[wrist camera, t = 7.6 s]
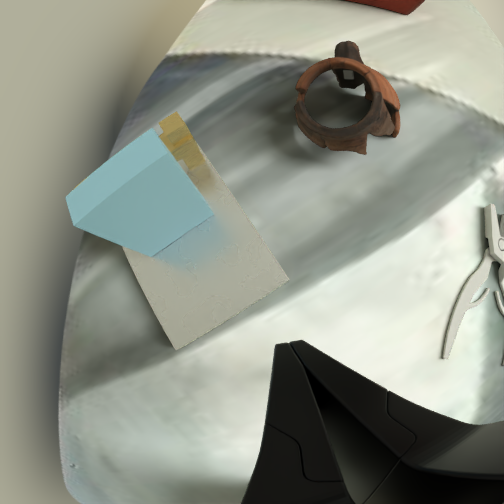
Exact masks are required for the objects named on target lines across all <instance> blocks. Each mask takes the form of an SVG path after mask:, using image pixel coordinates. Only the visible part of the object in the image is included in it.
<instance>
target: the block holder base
mask: <svg viewBox="0 0 504 504" xmlns="http://www.w3.org/2000/svg"><path fill="white" fill-rule="evenodd" d="M159 125H160V127H161V128H162V130H163V131H164V133H162V134H161V135H159V137H160V139H161V140H162V141H163V143H164V144H165V146H166V147H167V148H168V150H169V151H170V152H171V154H172V155H173V156H174V158H175V159H176V161H177V162H178V163H179V165H180V166H181V167H182V169H183V170H184V171H185V173H186V174H187V175H188V177H189V178H190V180H191V181H192V182H193V184H194V185H195V186H196V188H197V189H198V190H199V192H200V193H201V194H202V196H203V197H204V199H205V201H206V202H207V204H208V205H209V207H210V209H211V210H212V212H213V213H214V215H212V216H211V217H209V218H208V219H206V220H205V221H203V222H202V223H200V224H199V225H197V226H196V227H194V228H193V229H191V230H190V231H188V232H187V233H185V234H184V235H183V236H181V237H180V238H178V239H177V240H175V241H174V242H172V243H171V244H169V245H168V246H167V247H165V248H164V249H162V250H161V251H159V252H158V253H157V254H155V255H154V256H152V257H149V256H147V255H144V254H142V253H139V252H137V251H134V250H131V249H129V248H126V247H124V246H122V248H123V250H124V252H125V254H126V257H127V259H128V261H129V263H130V265H131V267H132V269H133V272H134V274H135V276H136V278H137V280H138V282H139V284H140V286H141V288H142V290H143V292H144V294H145V296H146V298H147V300H148V302H149V304H150V305H151V307H152V309H153V311H154V313H155V315H156V317H157V318H158V320H159V322H160V324H161V326H162V327H163V329H164V331H165V333H166V335H167V336H168V338H169V340H170V341H171V343H172V345H173V347H174V348H175V350H178V349H180V348H183V347H184V346H186V345H188V344H189V343H191V342H193V341H194V340H196V339H198V338H199V337H201V336H203V335H204V334H206V333H208V332H209V331H211V330H213V329H214V328H216V327H218V326H219V325H221V324H223V323H224V322H226V321H227V320H229V319H231V318H232V317H234V316H235V315H237V314H239V313H240V312H242V311H243V310H245V309H247V308H248V307H250V306H251V305H253V304H254V303H256V302H258V301H259V300H261V299H262V298H264V297H265V296H267V295H269V294H270V293H272V292H273V291H275V290H276V289H278V288H279V287H281V286H282V285H284V284H285V283H287V282H288V281H289V278H288V277H287V275H286V274H285V272H284V271H283V269H282V268H281V266H280V265H279V263H278V262H277V260H276V259H275V257H274V256H273V254H272V253H271V251H270V250H269V248H268V247H267V245H266V244H265V242H264V241H263V239H262V238H261V236H260V235H259V233H258V232H257V230H256V229H255V227H254V226H253V224H252V223H251V221H250V220H249V218H248V217H247V215H246V214H245V212H244V211H243V210H242V208H241V207H240V205H239V204H238V202H237V201H236V199H235V198H234V196H233V195H232V193H231V192H230V190H229V189H228V187H227V186H226V185H225V183H224V182H223V180H222V179H221V177H220V176H219V174H218V173H217V171H216V170H215V168H214V167H213V166H212V164H211V163H210V161H209V160H208V158H207V157H206V155H205V154H204V153H203V151H202V150H201V148H200V147H199V145H198V144H197V142H195V140H194V138H193V137H192V135H191V133H190V131H189V130H188V128H187V126H186V124H185V123H184V121H183V120H182V118H181V117H180V116H179V114H178V113H177V111H176V112H175V113H173V114H172V115H170V116H168V117H167V118H165V119H164V120H162V121H161V122H159ZM86 178H87V177H86ZM86 178H85V179H86ZM85 179H84V180H85ZM84 180H83V181H84ZM83 181H82V182H83ZM79 184H80V183H79ZM79 184H78V185H79ZM78 185H77V186H78ZM77 186H76V187H77ZM76 187H75V188H76ZM75 188H74V189H75ZM74 189H73V190H74Z"/></svg>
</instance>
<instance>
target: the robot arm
mask: <svg viewBox="0 0 504 504" xmlns="http://www.w3.org/2000/svg"><path fill="white" fill-rule="evenodd" d="M387 391H388V390H387V389H386V388H384V387H382V386H380V385H378V384H377V383H375V382H373V381H371V380H369V379H368V378H366V377H364V376H362V375H361V374H359V373H357V372H355V371H354V370H352V369H350V368H349V367H347V366H345V365H343V364H342V363H340V362H338V361H337V360H335V359H333V358H332V357H330V356H328V355H327V354H325V353H323V352H322V351H320V350H318V349H317V348H315V347H313V346H312V345H310V344H308V343H307V342H305V341H303V340H298V341H292V342H290V343H280V344H276V345H275V349H274V357H273V365H272V373H271V381H270V389H269V397H268V404H267V411H266V418H265V425H264V431H263V437H262V442H261V447H260V452H259V455H258V459H257V462H256V465H255V468H254V471H253V474H252V476H251V479H250V482H249V484H248V487H247V489H246V492H245V495H244V497H243V500H242V502H241V504H504V421H499V422H495V423H490V424H484V425H474V424H468V423H464V422H461V421H458V420H456V419H453V418H450V417H447V416H445V415H442V414H439V413H437V412H434V411H431V410H429V409H426V408H424V407H422V406H419V405H417V404H415V403H412V402H410V401H408V400H406V399H404V398H402V397H400V396H398V395H397V394H395V393H393V392H391V391H388V392H387Z"/></svg>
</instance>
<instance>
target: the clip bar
mask: <svg viewBox="0 0 504 504" xmlns="http://www.w3.org/2000/svg"><path fill="white" fill-rule="evenodd" d="M66 201H67V205H68V208H69V212H70V215H71V219H72V222H73V225H74V226H75V227H77V228H80V229H82V230H85V231H87V232H89V233H92V234H94V235H97V236H99V237H102V238H104V239H106V240H109V241H111V242H114V243H116V244H119V245H121V246H124V247H126V248H129V249H131V250H134V251H137V252H139V253H142V254H144V255H147V256H149V257H152V256H154V255H155V254H157V253H158V252H159V251H161V250H162V249H164V248H165V247H167V246H168V245H169V244H171V243H172V242H174V241H175V240H177V239H178V238H180V237H181V236H183V235H184V234H185V233H187V232H188V231H190V230H191V229H193V228H194V227H196V226H197V225H199V224H200V223H202V222H203V221H205V220H206V219H208V218H209V217H211V216H212V215H214V213H213V212H212V210H211V209H210V207H209V205H208V204H207V202H206V201H205V199H204V197H203V196H202V194H201V193H200V192H199V190H198V189H197V188H196V186H195V185H194V184H193V182H192V181H191V180H190V178H189V177H188V175H187V174H186V173H185V171H184V170H183V169H182V167H181V166H180V165H179V163H178V162H177V161H176V159H175V158H174V156H173V155H172V154H171V152H170V151H169V150H168V148H167V147H166V146H165V144H164V143H163V141H162V140H161V139H160V137H159V136H158V135H157V133H156V132H155V131H154V129H153V128H151V129H150V130H148V131H147V132H146V133H144V134H143V135H141V136H140V137H138V138H137V139H136V140H134V141H133V142H131V143H130V144H129V145H127V146H126V147H125V148H123V149H122V150H121V151H119V152H118V153H117V154H115V155H114V156H113V157H112V158H110V159H109V160H108V161H107V162H105V163H104V164H103V165H102V166H101V167H99V168H98V169H97V170H96V171H94V172H93V173H92V174H91V175H90V176H88V177H87V178H86V179H85V180H84V181H83V182H81V183H80V184H79V185H78V186H77V187H76V188H75V189H74V190H73V191H71V192H70V193H69V194H68V195H67V196H66Z"/></svg>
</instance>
